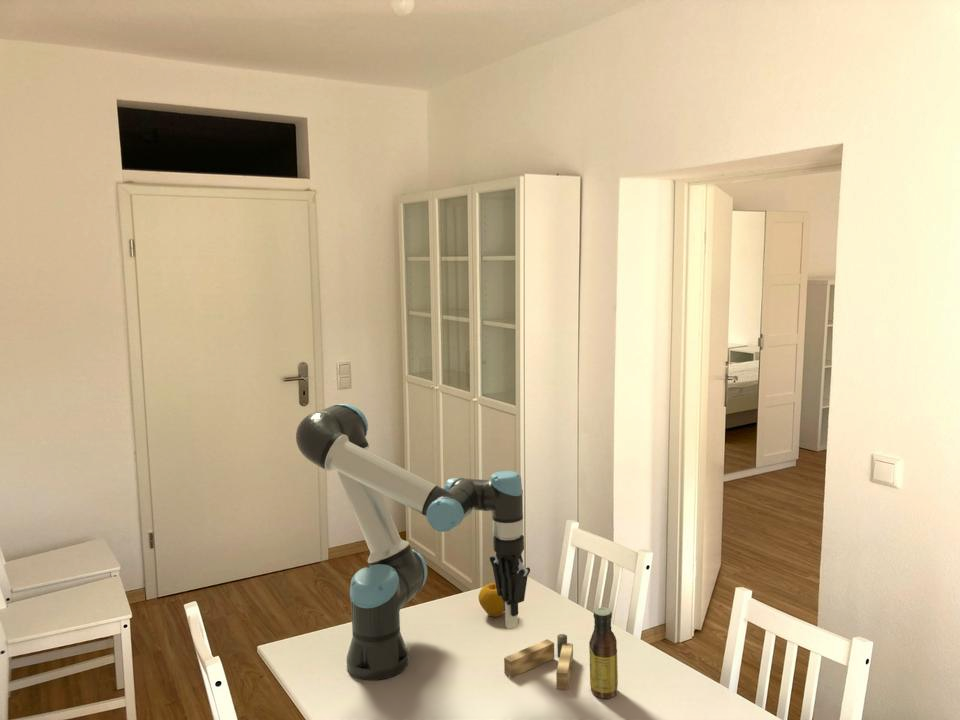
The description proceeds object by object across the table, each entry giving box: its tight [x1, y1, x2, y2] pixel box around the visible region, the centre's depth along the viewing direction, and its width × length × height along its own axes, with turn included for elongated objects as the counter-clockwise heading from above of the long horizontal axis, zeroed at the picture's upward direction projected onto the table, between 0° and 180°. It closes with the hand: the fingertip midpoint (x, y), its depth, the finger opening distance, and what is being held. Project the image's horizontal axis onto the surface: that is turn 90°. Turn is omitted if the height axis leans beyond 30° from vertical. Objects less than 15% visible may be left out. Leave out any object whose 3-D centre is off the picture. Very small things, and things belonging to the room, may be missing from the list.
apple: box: [477, 582, 505, 618], centre depth 217 cm, size 9×9×9 cm
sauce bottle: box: [588, 606, 619, 699], centre depth 176 cm, size 6×6×20 cm
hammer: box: [555, 633, 574, 691], centre depth 187 cm, size 16×4×5 cm, turn 168°
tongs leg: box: [503, 639, 555, 679], centre depth 189 cm, size 14×2×4 cm, turn 128°
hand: (511, 626), depth 193 cm, fingers closed
